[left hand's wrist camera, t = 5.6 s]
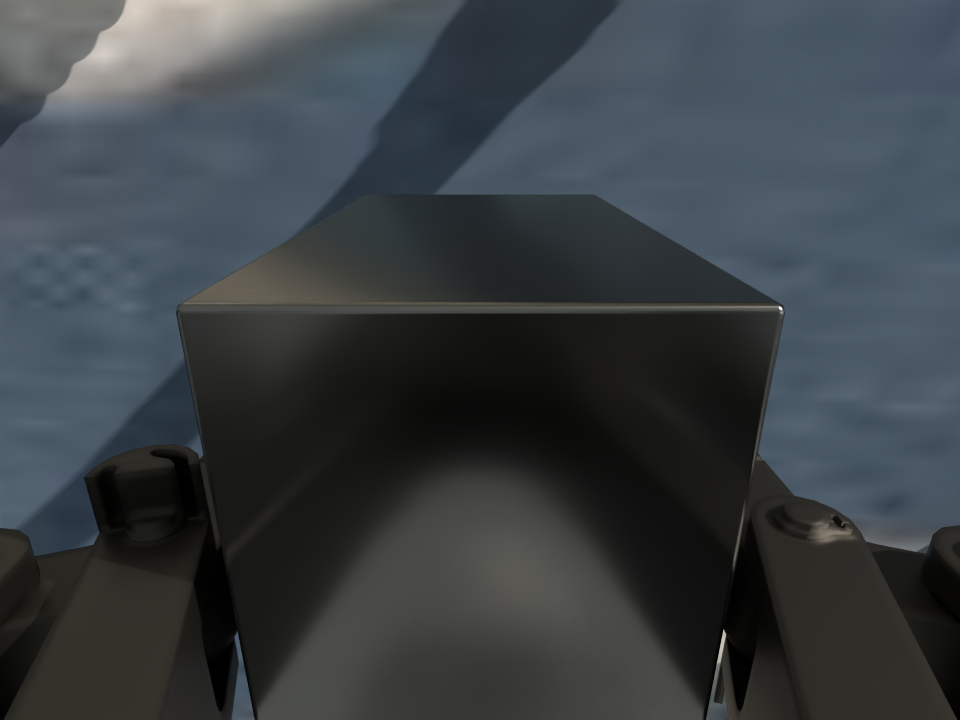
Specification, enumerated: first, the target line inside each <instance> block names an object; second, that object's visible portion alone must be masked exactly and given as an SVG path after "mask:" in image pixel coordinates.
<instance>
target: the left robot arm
mask: <svg viewBox="0 0 960 720" xmlns="http://www.w3.org/2000/svg"><path fill="white" fill-rule="evenodd" d="M84 479H85V483H86V486H87V490H88V493H89V497H90V501H91V504H92V508H93V511H94V515H95V518H96V522H97V525H98V529H99V532H100V533H99V535H98V537H97V539H96V541H95V543H94V545H90V546H86V547H81V548H76V549H71V550H66V551H61V552H56V553H51V554H46V555H40V556H34V553H33V550H32V547H31V544H30V541H29V538H28V536H26V535H25V534H23V533H22V532H21V531H19V530H13V529H5V528H0V720H231V719H232V711H233V704H234V696H235V688H236V680H237V672H238V665H239V662H238V655H237V648H236V643H235V638H234V637H235V635H236V633H237V631H238V630H237V625H236V620H235V615H234V610H233V604H232V599H231V594H230V589H229V584H228V579H227V574H226V568H225V563H224V558H223V553H222V548H221V543H220V537H219V532H218V527H217V522H216V517H215V512H214V506H213V501H212V496H211V491H210V486H209V481H208V475H207V470H206V465H205V460H204V455H203V456H202V457H201V458H200V461H199V456H198V454H197V453H196V452H195V451H193V450H192V449H191V448H189V447H184V446H179V445H154V446H149V447H144V448H138V449H133V450H131V451H128V452H125V453H122V454H119V455H117V456H114V457H112V458H110V459H108V460H106V461H104V462H103V463H101V464H99V465H97V466H96V467H94V468H93V469H92V470H91V471H90V472H89V473H88V474H87V475H86V476H85V477H84ZM724 631H725V633H726V638H725V643H724V648H723V653H722V658H721V663H720V669H719V674H718V679H717V684H716V689H715V696H714V702H716V703H720V704H722V701H723V696H724V691H725V694H726V702H727V710H728V718H729V720H960V525H959V526H951V527H943V528H941V529H940V530H938V531H937V532H936V533H934V534H933V536H932V539H931V542H930V545H929V548H928V551H927V554H924V553H919V552H913V551H908V550H903V549H898V548H893V547H888V546H883V545H877V544H873V543H869V542H866V541H865V540H864V538H863V536H862V534H861V532H860V531H859V529H858V528H857V527H856V526H855V525H854V523H853V522H852V521H851V520H850V519H848V518H847V517H846V516H844V515H843V514H841V513H840V512H838V511H837V510H835V509H833V508H831V507H828V506H826V505H824V504H821V503H819V502H817V501H814V500H810V499H805V498H801V497H797V496H794V495H793V494H792V493H791V492H790V490H789V489H788V488H787V487H786V486H785V484H784V483H783V482H782V481H781V480H780V479H779V477H778V476H777V475H776V474H775V473H774V472H773V470H772V469H771V468H770V467H769V466H768V465H767V463H766V462H765V461H764V460H761V456H760V455H759V454H757V459H756V464H755V469H754V475H753V480H752V485H751V490H750V495H749V500H748V505H747V511H746V516H745V521H744V526H743V531H742V536H741V541H740V547H739V552H738V557H737V562H736V567H735V572H734V577H733V583H732V588H731V593H730V598H729V603H728V608H727V613H726V619H725V624H724Z"/></svg>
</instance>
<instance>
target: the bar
mask: <svg viewBox="0 0 960 720" xmlns="http://www.w3.org/2000/svg"><path fill="white" fill-rule="evenodd" d="M176 315H177V320H178V326H179V331H180V336H181V341H182V346H183V351H184V357H185V362H186V367H187V372H188V377H189V382H190V388H191V393H192V398H193V403H194V408H195V413H196V419H197V424H198V429H199V434H200V439H201V444H202V450H203V455H204V460H205V465H206V470H207V475H208V481H209V486H210V491H211V496H212V501H213V506H214V512H215V517H216V522H217V527H218V532H219V537H220V543H221V548H222V553H223V558H224V563H225V568H226V574H227V579H228V584H229V589H230V594H231V599H232V604H233V610H234V615H235V620H236V625H237V630H238V635H239V641H240V646H241V651H242V656H243V661H244V666H245V672H246V677H247V682H248V687H249V692H250V697H251V703H252V708H253V713H254V718H255V720H706V716H707V711H708V706H709V701H710V696H711V691H712V685H713V680H714V675H715V670H716V665H717V660H718V655H719V649H720V644H721V639H722V634H723V629H724V624H725V619H726V613H727V608H728V603H729V598H730V593H731V588H732V583H733V577H734V572H735V567H736V562H737V557H738V552H739V547H740V541H741V536H742V531H743V526H744V521H745V516H746V511H747V505H748V500H749V495H750V490H751V485H752V480H753V475H754V469H755V464H756V459H757V454H758V449H759V444H760V439H761V433H762V428H763V423H764V418H765V413H766V408H767V403H768V397H769V392H770V387H771V382H772V377H773V372H774V367H775V361H776V356H777V351H778V346H779V341H780V336H781V331H782V325H783V320H784V315H785V312H784V307H783V305H782V304H780V303H779V302H777V301H775V300H773V299H772V298H770V297H768V296H767V295H765V294H763V293H761V292H760V291H758V290H756V289H755V288H753V287H751V286H750V285H748V284H746V283H744V282H743V281H741V280H739V279H738V278H736V277H734V276H732V275H731V274H729V273H727V272H726V271H724V270H722V269H721V268H719V267H717V266H715V265H714V264H712V263H710V262H709V261H707V260H705V259H703V258H702V257H700V256H698V255H697V254H695V253H693V252H692V251H690V250H688V249H686V248H685V247H683V246H681V245H680V244H678V243H676V242H674V241H673V240H671V239H669V238H668V237H666V236H664V235H663V234H661V233H659V232H657V231H656V230H654V229H652V228H651V227H649V226H647V225H645V224H644V223H642V222H640V221H639V220H637V219H635V218H633V217H632V216H630V215H628V214H627V213H625V212H623V211H622V210H620V209H618V208H616V207H615V206H613V205H611V204H610V203H608V202H606V201H604V200H603V199H601V198H599V197H598V196H596V195H365V196H363V197H361V198H359V199H358V200H356V201H354V202H352V203H351V204H349V205H347V206H346V207H344V208H342V209H341V210H339V211H337V212H335V213H334V214H332V215H330V216H329V217H327V218H325V219H324V220H322V221H320V222H318V223H317V224H315V225H313V226H312V227H310V228H308V229H307V230H305V231H303V232H301V233H300V234H298V235H296V236H295V237H293V238H291V239H290V240H288V241H286V242H284V243H283V244H281V245H279V246H278V247H276V248H274V249H272V250H271V251H269V252H267V253H266V254H264V255H262V256H261V257H259V258H257V259H255V260H254V261H252V262H250V263H249V264H247V265H245V266H244V267H242V268H240V269H238V270H237V271H235V272H233V273H232V274H230V275H228V276H227V277H225V278H223V279H221V280H220V281H218V282H216V283H215V284H213V285H211V286H210V287H208V288H206V289H204V290H203V291H201V292H199V293H198V294H196V295H194V296H193V297H191V298H189V299H187V300H186V301H184V302H182V303H181V304H179V305H178V307H177V311H176Z"/></svg>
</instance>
